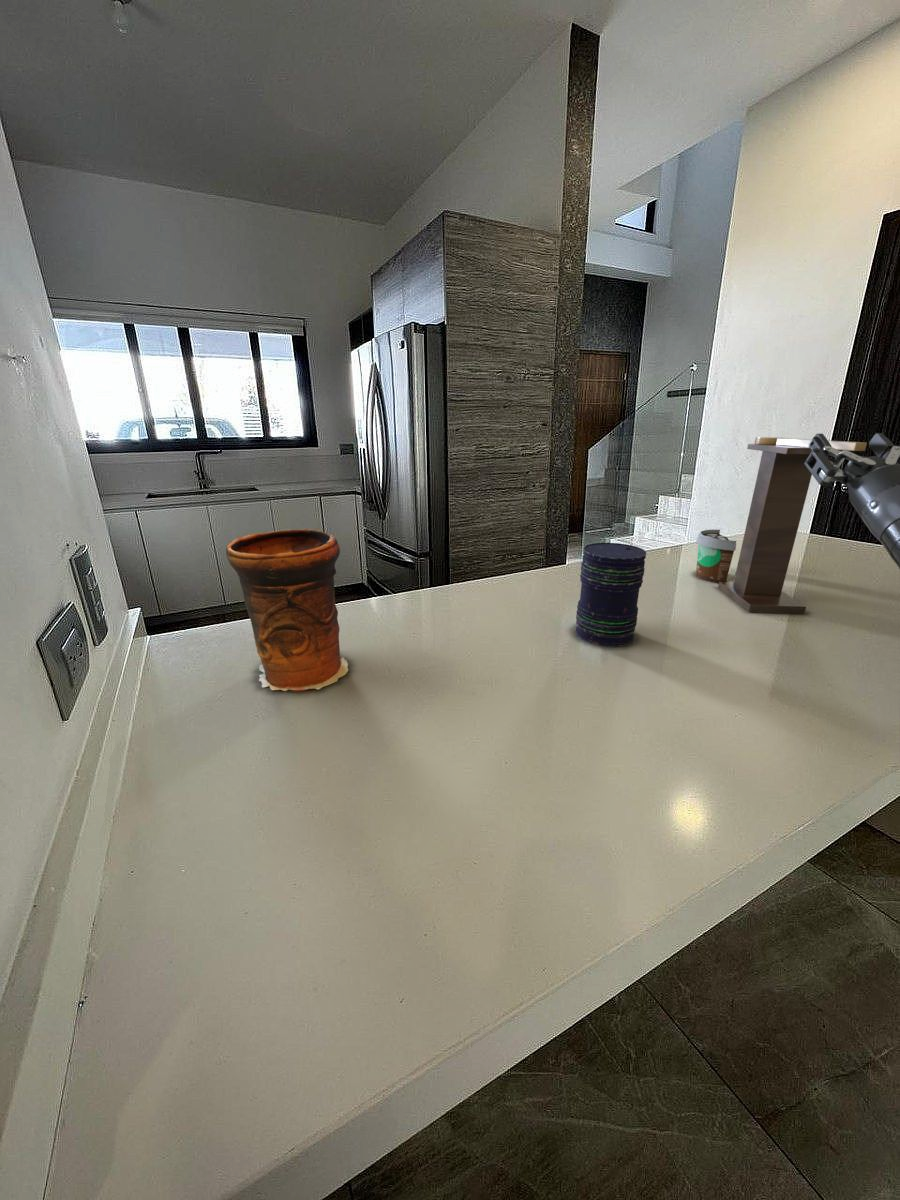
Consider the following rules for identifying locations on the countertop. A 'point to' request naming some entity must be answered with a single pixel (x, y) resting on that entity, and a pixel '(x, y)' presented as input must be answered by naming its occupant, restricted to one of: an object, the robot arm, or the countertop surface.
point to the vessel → (291, 605)
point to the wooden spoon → (805, 443)
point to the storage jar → (609, 593)
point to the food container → (714, 556)
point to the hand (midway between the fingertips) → (845, 438)
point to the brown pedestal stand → (771, 531)
